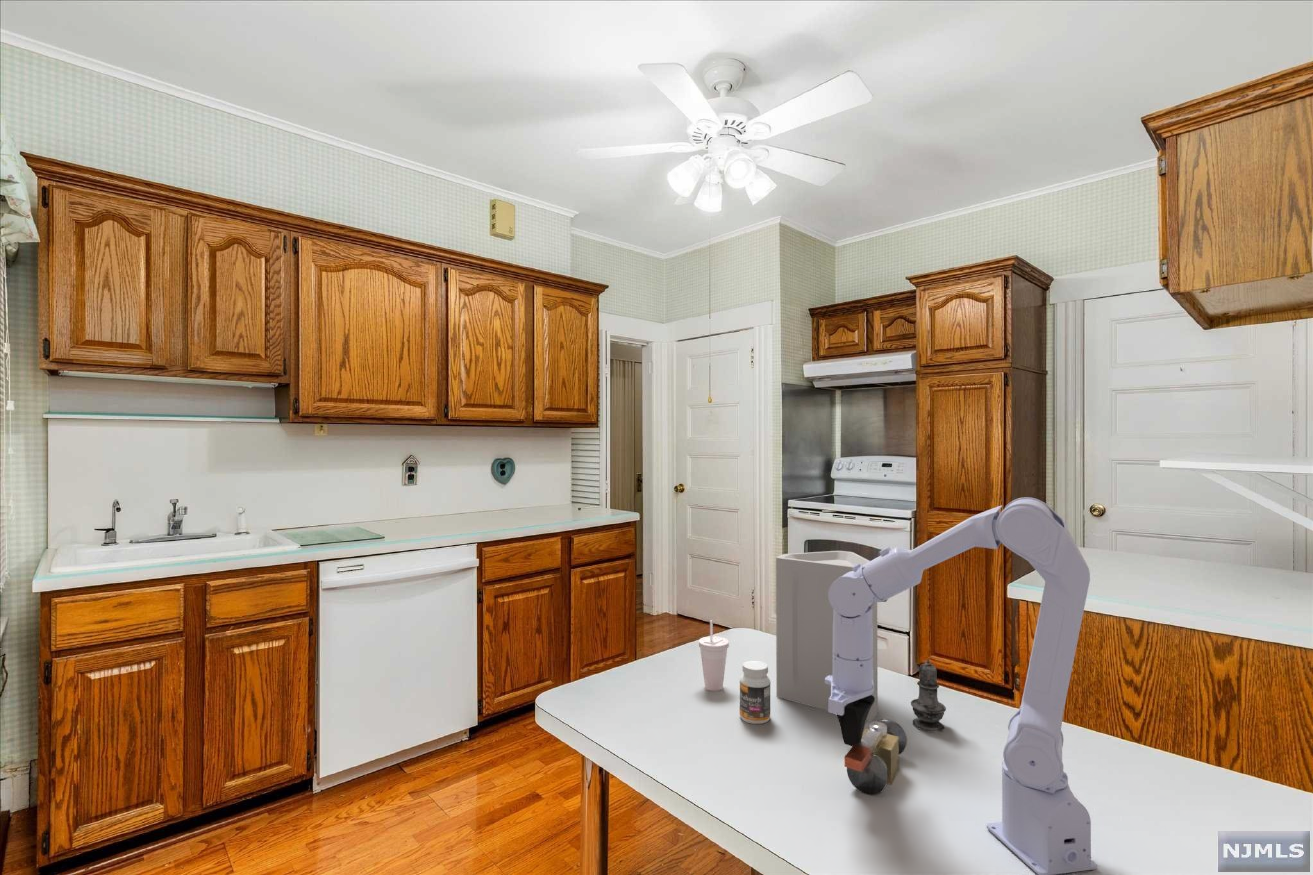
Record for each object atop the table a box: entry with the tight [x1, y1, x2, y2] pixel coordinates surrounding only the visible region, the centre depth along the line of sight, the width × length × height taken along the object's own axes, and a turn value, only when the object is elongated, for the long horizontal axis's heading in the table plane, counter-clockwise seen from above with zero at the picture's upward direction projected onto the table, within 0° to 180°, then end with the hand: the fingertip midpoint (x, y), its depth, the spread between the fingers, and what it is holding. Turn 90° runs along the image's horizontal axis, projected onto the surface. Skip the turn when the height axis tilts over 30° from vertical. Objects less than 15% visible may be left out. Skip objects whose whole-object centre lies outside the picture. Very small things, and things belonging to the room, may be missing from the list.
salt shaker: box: [910, 658, 947, 733], centre depth 111 cm, size 6×6×12 cm
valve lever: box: [844, 721, 887, 772], centre depth 91 cm, size 14×3×1 cm, turn 144°
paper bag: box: [775, 550, 879, 722], centre depth 124 cm, size 19×15×28 cm
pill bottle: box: [739, 660, 771, 725], centre depth 114 cm, size 6×6×10 cm
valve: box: [846, 718, 908, 796], centre depth 96 cm, size 14×6×6 cm, turn 146°
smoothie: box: [698, 619, 730, 692], centre depth 129 cm, size 6×6×14 cm
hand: (851, 744), depth 92 cm, fingers closed, pressing on valve lever
